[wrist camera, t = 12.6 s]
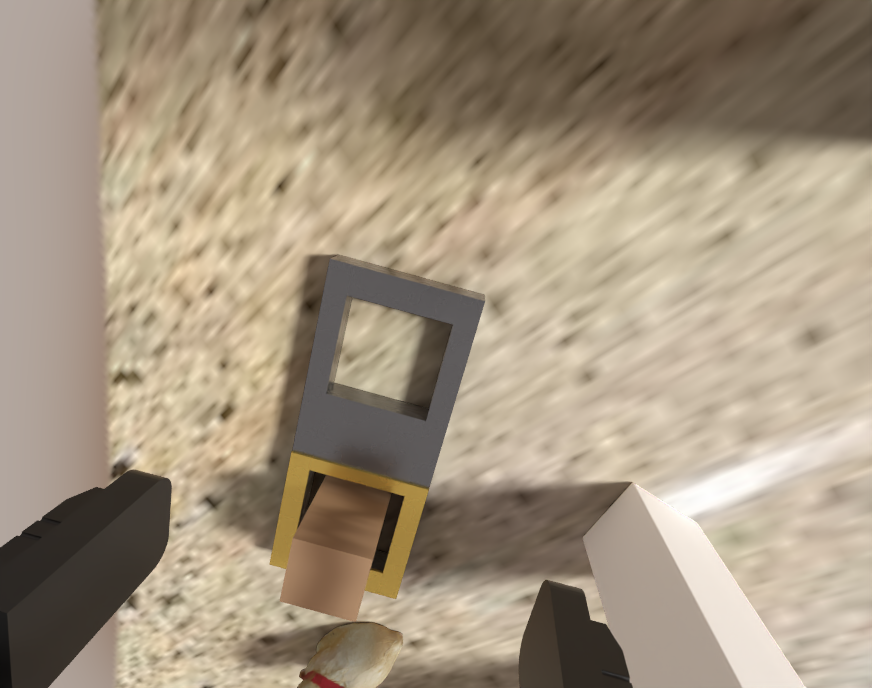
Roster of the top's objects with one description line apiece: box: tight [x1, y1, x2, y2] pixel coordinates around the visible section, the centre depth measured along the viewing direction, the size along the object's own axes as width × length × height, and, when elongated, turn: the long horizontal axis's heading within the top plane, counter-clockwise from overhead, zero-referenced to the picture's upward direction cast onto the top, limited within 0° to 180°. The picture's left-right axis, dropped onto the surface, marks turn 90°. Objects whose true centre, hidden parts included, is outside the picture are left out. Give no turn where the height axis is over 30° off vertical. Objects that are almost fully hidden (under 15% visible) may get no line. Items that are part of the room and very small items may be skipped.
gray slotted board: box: [270, 255, 485, 599], centre depth 36 cm, size 10×24×2 cm, turn 165°
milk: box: [583, 483, 806, 688], centre depth 27 cm, size 6×6×22 cm
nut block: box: [280, 475, 391, 622], centre depth 35 cm, size 5×5×8 cm
